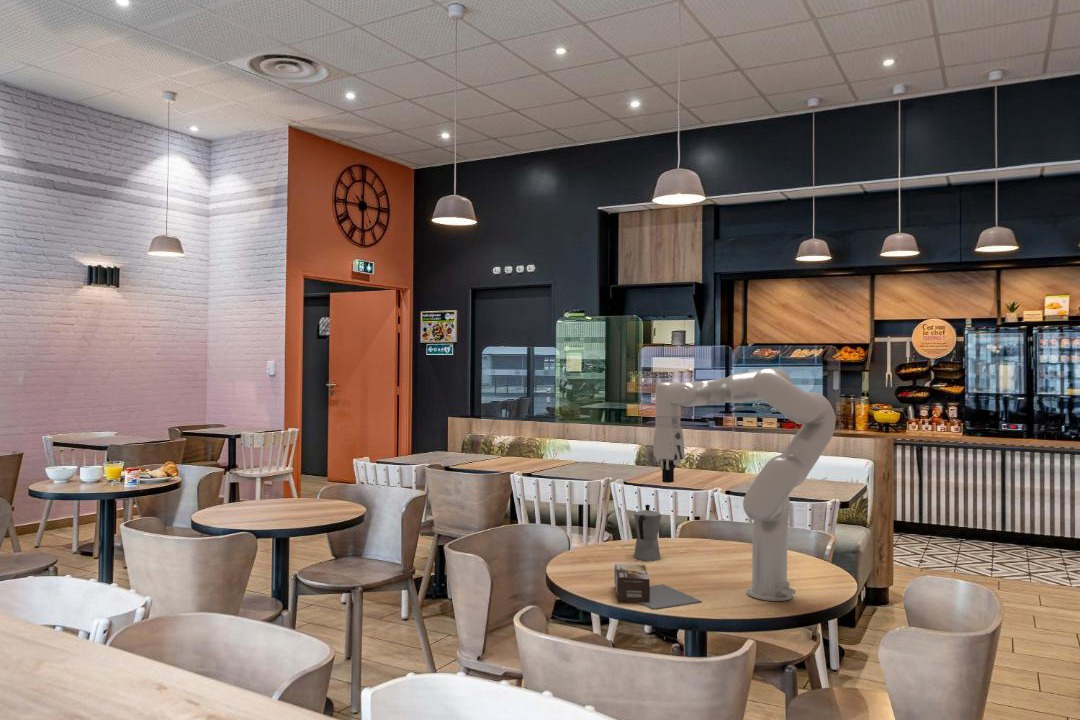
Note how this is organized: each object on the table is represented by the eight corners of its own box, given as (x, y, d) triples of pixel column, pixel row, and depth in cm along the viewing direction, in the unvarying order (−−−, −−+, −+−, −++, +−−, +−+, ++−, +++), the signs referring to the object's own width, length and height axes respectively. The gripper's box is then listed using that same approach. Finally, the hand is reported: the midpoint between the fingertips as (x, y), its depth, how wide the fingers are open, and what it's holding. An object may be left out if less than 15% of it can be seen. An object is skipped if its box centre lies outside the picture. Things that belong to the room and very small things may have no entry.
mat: (701, 602, 213) (701, 600, 213) (653, 609, 206) (653, 608, 206) (663, 585, 229) (663, 584, 229) (616, 592, 222) (617, 590, 222)
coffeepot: (639, 552, 270) (639, 500, 271) (665, 555, 267) (666, 502, 267) (625, 562, 256) (626, 507, 257) (653, 565, 253) (654, 510, 253)
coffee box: (614, 584, 228) (615, 601, 212) (614, 563, 228) (616, 577, 212) (645, 585, 227) (649, 602, 211) (645, 563, 227) (650, 578, 211)
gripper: (693, 423, 234) (693, 484, 233) (662, 420, 247) (662, 478, 246) (673, 424, 230) (673, 486, 230) (643, 421, 243) (643, 480, 243)
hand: (668, 482), depth 238 cm, fingers closed
